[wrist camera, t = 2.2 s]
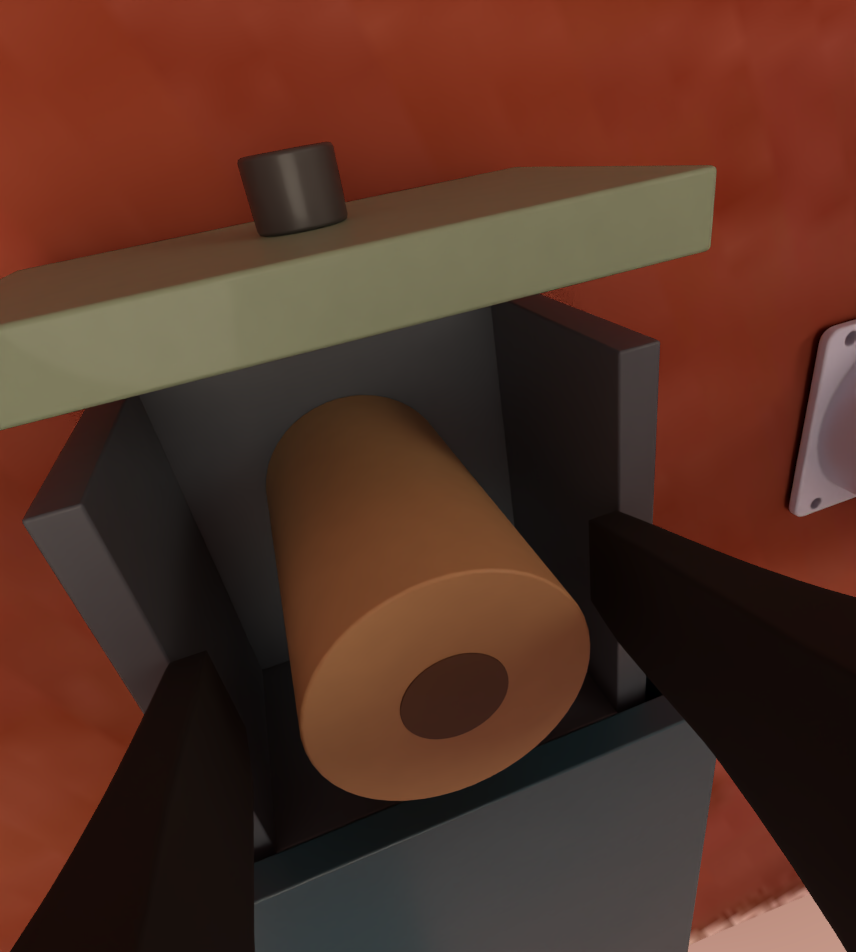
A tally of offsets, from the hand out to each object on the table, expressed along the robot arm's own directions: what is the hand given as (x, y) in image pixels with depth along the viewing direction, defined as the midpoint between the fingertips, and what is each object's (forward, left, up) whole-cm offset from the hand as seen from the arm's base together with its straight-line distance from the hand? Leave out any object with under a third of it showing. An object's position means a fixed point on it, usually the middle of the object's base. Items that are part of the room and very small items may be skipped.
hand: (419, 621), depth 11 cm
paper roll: (0, 0, -6) cm, 6 cm away
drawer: (0, -1, -7) cm, 7 cm away
